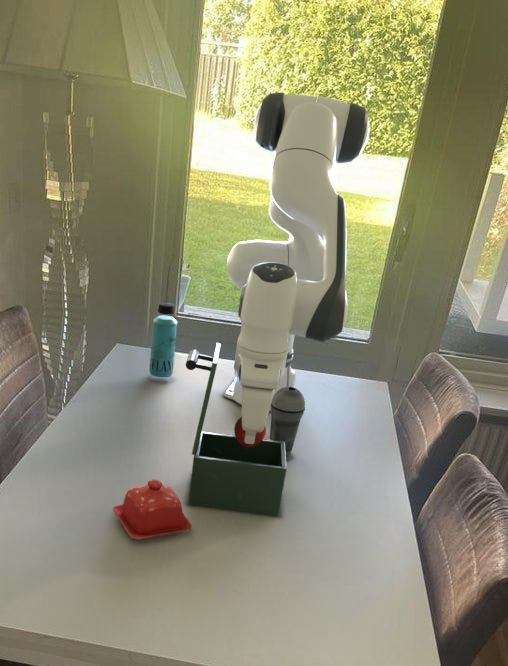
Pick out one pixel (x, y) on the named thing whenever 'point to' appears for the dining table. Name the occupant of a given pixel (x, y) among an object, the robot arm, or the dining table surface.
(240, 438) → the onion
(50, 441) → the dining table surface
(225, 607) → the dining table surface
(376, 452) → the dining table surface
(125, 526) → the butter dish
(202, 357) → the green box lid
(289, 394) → the beverage cup
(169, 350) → the beverage bottle
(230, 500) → the green box
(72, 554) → the dining table surface
